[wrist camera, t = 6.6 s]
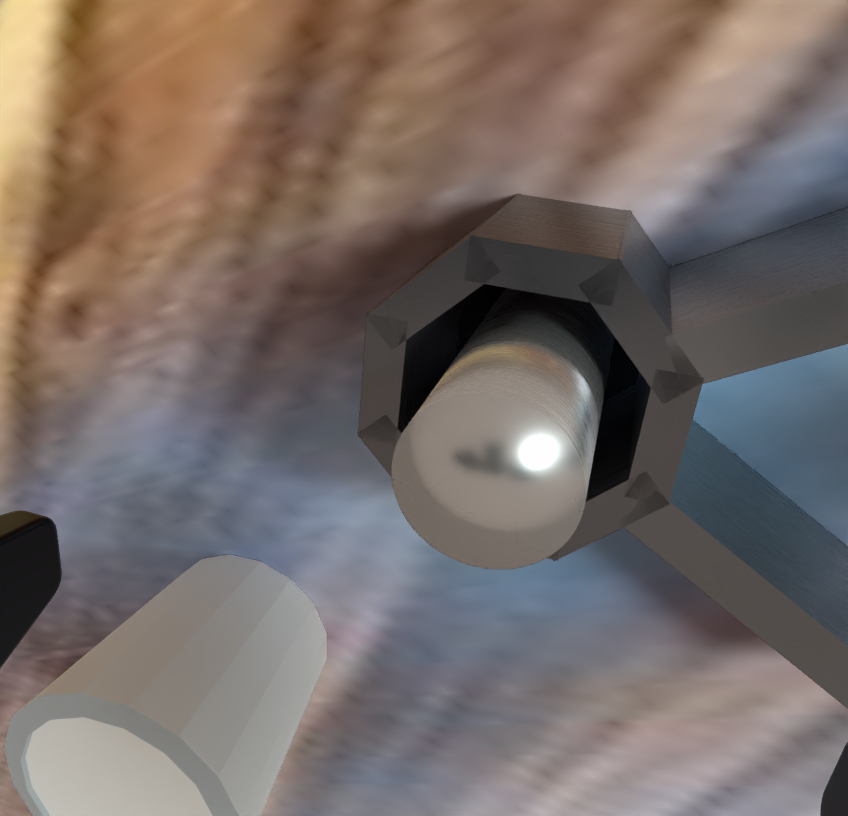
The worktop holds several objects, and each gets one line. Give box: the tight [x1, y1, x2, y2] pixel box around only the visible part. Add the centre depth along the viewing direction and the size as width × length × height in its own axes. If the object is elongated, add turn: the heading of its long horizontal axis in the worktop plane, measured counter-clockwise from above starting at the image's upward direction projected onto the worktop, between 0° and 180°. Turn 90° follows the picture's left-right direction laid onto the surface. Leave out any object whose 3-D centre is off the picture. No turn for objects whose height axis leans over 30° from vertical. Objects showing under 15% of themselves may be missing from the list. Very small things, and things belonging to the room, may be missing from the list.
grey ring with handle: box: [357, 194, 848, 708], centre depth 16 cm, size 14×13×5 cm
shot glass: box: [4, 554, 327, 816], centre depth 22 cm, size 7×7×7 cm
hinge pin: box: [392, 288, 615, 569], centre depth 15 cm, size 3×3×8 cm
